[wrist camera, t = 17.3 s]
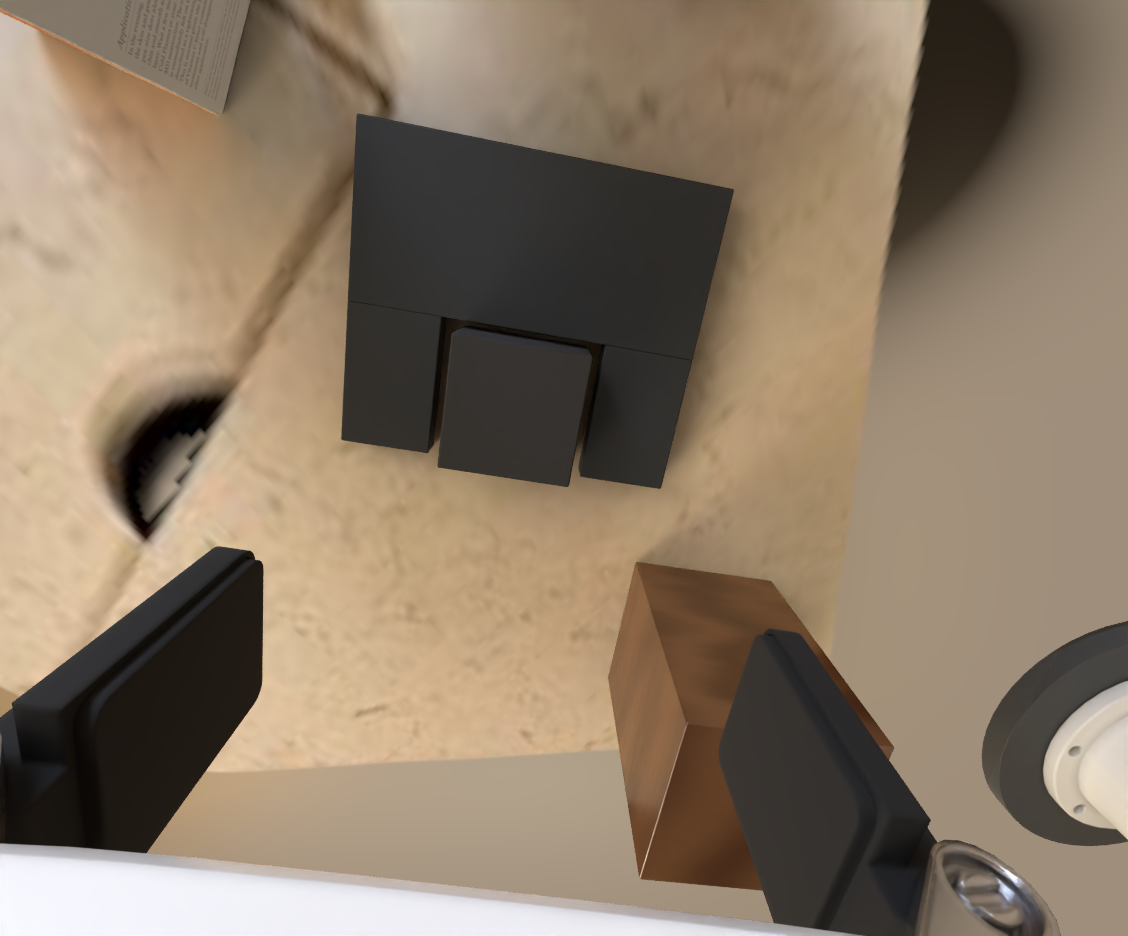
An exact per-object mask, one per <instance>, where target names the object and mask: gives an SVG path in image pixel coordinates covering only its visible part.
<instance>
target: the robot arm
mask: <svg viewBox="0 0 1128 936" xmlns="http://www.w3.org/2000/svg"><path fill="white" fill-rule="evenodd" d="M262 655H263V564H262V562H261V561H259V560H255V557H254V554H253V553H252V552H251V551H247V550H240V549H233V548H227V547H215V548H213V549H212V550H210V551H209V552H208V553H207V554H205V555H204V556H203V557H201V558H200V559H199V560H197V561H196V562H195V563H193V564H192V565H191V566H190V567H188V568H187V569H186V570H184V571H183V572H182V573H180V574H179V575H178V576H177V577H175V578H174V579H173V580H171V581H170V582H169V583H167V584H166V585H165V586H164V587H162V588H161V589H160V590H158V591H157V592H156V593H154V594H153V595H152V596H151V597H149V598H148V599H147V600H145V601H144V602H143V603H141V604H140V605H139V606H138V607H136V608H135V609H134V610H132V611H131V612H130V613H128V614H127V615H126V616H125V617H123V618H122V619H121V620H119V621H118V622H117V623H115V624H114V625H113V626H112V627H110V628H109V629H108V630H106V631H105V632H104V633H102V634H101V635H100V636H98V637H97V638H96V639H95V640H93V641H92V642H91V643H89V644H88V645H87V646H85V647H84V648H83V649H82V650H80V651H79V652H78V653H76V654H75V655H74V656H72V657H71V658H70V659H69V660H67V661H66V662H65V663H63V664H62V665H61V666H59V667H58V668H57V669H56V670H54V671H53V672H52V673H50V674H49V675H48V676H46V677H45V678H44V679H43V680H41V681H40V682H39V683H37V684H36V685H35V686H33V687H32V688H31V689H30V690H28V691H27V692H26V693H24V694H23V695H22V696H20V697H19V698H18V699H16V700H15V701H14V702H13V703H12V706H13V708H12V709H11V710H9V711H8V712H7V713H6V714H4V715H3V716H2V717H0V936H1061V934H1060V931H1059V927H1058V924H1057V920H1056V919H1055V917H1054V915H1053V913H1052V912H1051V910H1050V909H1049V907H1048V905H1047V903H1046V902H1045V901H1044V899H1043V898H1042V897H1041V896H1040V895H1039V894H1038V892H1037V891H1036V890H1035V889H1034V888H1033V887H1032V886H1031V884H1030V883H1028V882H1027V881H1026V880H1025V879H1024V878H1023V877H1022V876H1021V875H1019V874H1018V873H1017V872H1016V871H1015V870H1014V869H1013V868H1011V867H1010V866H1008V865H1007V864H1005V863H1004V862H1003V861H1001V860H1000V859H998V858H997V857H995V856H994V855H992V854H990V853H988V852H986V851H984V850H982V849H980V848H978V847H976V846H974V845H971V844H968V843H965V842H961V841H957V840H943V841H940V842H938V843H937V841H936V840H935V838H934V837H933V835H932V834H931V832H930V831H929V829H928V828H927V827H928V825H929V823H930V821H931V820H930V818H929V817H928V816H927V814H926V813H925V811H924V810H923V808H922V807H921V806H920V804H919V803H918V801H917V800H916V798H915V797H914V796H913V794H912V793H911V791H910V790H909V789H908V787H907V785H906V784H905V783H904V781H903V780H902V778H901V777H900V775H899V774H898V773H897V771H896V770H895V768H894V767H893V765H892V764H891V763H890V761H889V760H888V758H887V757H886V755H885V754H884V753H883V751H882V750H881V748H880V747H879V745H878V744H877V743H876V741H875V740H874V738H873V737H872V735H871V734H870V733H869V731H868V730H867V728H866V727H865V725H864V724H863V722H862V721H861V720H860V718H859V717H858V715H857V714H856V712H855V711H854V710H853V708H852V707H851V705H850V704H849V702H848V701H847V700H846V698H845V697H844V695H843V694H842V692H841V691H840V690H839V688H838V687H837V685H836V684H835V682H834V681H833V680H832V678H831V677H830V675H829V674H828V672H827V671H826V669H825V668H824V667H823V665H822V664H821V662H820V661H819V659H818V658H817V657H816V655H815V654H814V652H813V651H812V649H811V648H810V647H809V645H808V644H807V642H806V641H805V639H804V638H803V637H802V636H801V635H800V634H799V633H797V632H791V631H784V630H777V629H770V628H769V629H767V630H766V631H765V632H764V633H763V635H757V636H756V637H755V638H754V641H753V643H752V646H751V649H750V652H749V655H748V658H747V661H746V664H745V667H744V670H743V673H742V676H741V679H740V682H739V685H738V688H737V691H736V694H735V698H734V701H733V704H732V707H731V710H730V713H729V716H728V719H727V722H726V725H725V728H724V731H723V734H722V737H721V740H720V743H719V762H720V766H721V769H722V772H723V775H724V778H725V780H726V783H727V786H728V789H729V792H730V795H731V798H732V801H733V804H734V807H735V810H736V813H737V816H738V819H739V822H740V825H741V827H742V830H743V833H744V836H745V839H746V842H747V845H748V848H749V851H750V854H751V857H752V860H753V863H754V866H755V869H756V872H757V875H758V877H759V880H760V883H761V886H762V889H763V892H764V895H765V898H766V901H767V904H768V906H769V910H770V912H771V916H772V918H773V922H774V923H769V922H762V921H754V920H745V919H737V918H728V917H719V916H711V915H703V914H695V913H687V912H677V911H669V910H661V909H653V908H645V907H636V906H628V905H619V904H611V903H602V902H594V901H585V900H576V899H568V898H558V897H550V896H541V895H533V894H524V893H515V892H506V891H498V890H489V889H480V888H471V887H461V886H452V885H444V884H435V883H426V882H417V881H408V880H399V879H390V878H381V877H371V876H362V875H353V874H343V873H334V872H325V871H315V870H306V869H297V868H286V867H278V866H268V865H258V864H249V863H240V862H231V861H221V860H212V859H202V858H192V857H181V856H169V855H158V854H147V852H148V850H149V849H150V847H151V846H152V845H153V843H154V842H155V840H156V839H157V838H158V836H159V835H160V834H161V832H162V831H163V829H164V828H165V827H166V825H167V824H168V822H169V821H170V820H171V818H172V817H173V816H174V814H175V813H176V811H177V810H178V809H179V807H180V806H181V804H182V803H183V801H184V800H185V799H186V798H187V796H188V795H189V793H190V792H191V791H192V789H193V788H194V786H195V785H196V784H197V782H198V781H199V779H200V778H201V777H202V775H203V774H204V773H205V771H206V770H207V768H208V767H209V766H210V764H211V763H212V761H213V760H214V759H215V757H216V756H217V755H218V753H219V752H220V750H221V749H222V748H223V746H224V745H225V743H226V742H227V741H228V739H229V738H230V737H231V735H232V734H233V732H234V731H235V730H236V728H237V727H238V725H239V724H240V723H241V721H242V720H243V719H244V717H245V716H246V714H247V713H248V712H249V710H250V709H251V707H252V706H253V705H254V703H255V701H256V700H257V698H258V696H259V693H260V690H261V686H262ZM1043 775H1044V783H1045V785H1046V788H1047V790H1048V792H1049V794H1050V795H1051V796H1052V798H1053V799H1054V800H1055V801H1056V803H1057V804H1058V805H1059V806H1060V807H1061V808H1062V809H1063V810H1064V811H1065V812H1066V813H1067V814H1068V815H1070V816H1071V817H1073V818H1075V819H1076V820H1078V821H1080V822H1082V823H1084V824H1088V825H1091V826H1095V827H1100V828H1109V829H1117V830H1118V831H1119V832H1120V833H1121V834H1122V835H1123V836H1124V837H1126V838H1127V839H1128V681H1125V682H1122V683H1119V684H1117V685H1115V686H1113V687H1111V688H1108V689H1106V690H1104V691H1102V692H1100V693H1099V694H1097V695H1096V696H1094V697H1093V698H1091V699H1090V700H1088V701H1087V702H1085V703H1084V704H1083V705H1082V706H1080V707H1079V708H1078V709H1077V710H1076V711H1075V712H1073V713H1072V714H1071V715H1070V716H1069V717H1068V718H1067V720H1066V721H1065V722H1064V723H1063V724H1062V725H1061V726H1060V728H1059V729H1058V731H1057V732H1056V734H1055V735H1054V737H1053V739H1052V740H1051V742H1050V744H1049V747H1048V749H1047V752H1046V755H1045V760H1044V766H1043Z"/></svg>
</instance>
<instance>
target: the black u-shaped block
mask: <svg viewBox="0 0 1128 936" xmlns="http://www.w3.org/2000/svg"><path fill="white" fill-rule="evenodd" d="M733 191H734V190H733V189H729V188H724V187H720V186H715V185H710V184H705V183H700V182H695V181H690V180H685V179H680V178H675V177H670V176H665V175H660V174H655V173H650V172H645V171H640V170H635V169H630V168H625V167H621V166H616V165H611V164H606V163H601V162H596V161H591V160H586V159H581V158H576V157H571V156H566V155H561V154H556V153H551V152H546V151H541V150H536V149H531V148H526V147H522V146H517V145H512V144H507V143H502V142H497V141H492V140H487V139H482V138H477V137H472V136H467V135H462V134H457V133H452V132H447V131H442V130H437V129H432V128H427V127H423V126H418V125H413V124H408V123H403V122H398V121H393V120H388V119H383V118H378V117H373V116H368V115H363V114H357V121H356V142H355V163H354V184H353V205H352V226H351V246H350V267H349V288H348V300H349V301H348V310H347V331H346V352H345V373H344V394H343V415H342V436H341V439H342V440H345V441H351V442H358V443H365V444H371V445H378V446H384V447H391V448H397V449H404V450H410V451H417V452H423V453H428V452H429V450H430V449H431V448H432V446H433V444H434V436H435V426H436V417H437V407H438V397H439V387H440V378H441V368H442V358H443V349H444V339H445V329H446V319H447V318H453V319H458V320H464V321H470V322H476V323H481V324H487V325H493V326H499V327H504V328H510V329H516V330H522V331H527V332H533V333H539V334H545V335H550V336H556V337H562V338H568V339H573V340H579V341H585V342H590V343H596V344H602V347H601V352H600V357H599V363H598V368H597V373H596V378H595V383H594V389H593V394H592V399H591V404H590V410H589V415H588V420H587V425H586V430H585V436H584V441H583V446H582V451H581V457H580V462H579V472H580V476H581V477H586V478H593V479H599V480H606V481H612V482H619V483H625V484H632V485H638V486H645V487H652V488H658V489H661V486H662V482H663V478H664V473H665V469H666V465H667V461H668V457H669V453H670V449H671V445H672V441H673V437H674V433H675V428H676V424H677V420H678V416H679V412H680V408H681V404H682V400H683V396H684V392H685V388H686V383H687V379H688V375H689V371H690V367H691V363H692V359H693V355H694V351H695V347H696V343H697V339H698V335H699V331H700V326H701V322H702V318H703V314H704V310H705V306H706V302H707V298H708V294H709V290H710V286H711V281H712V277H713V273H714V269H715V265H716V261H717V257H718V253H719V249H720V245H721V240H722V236H723V232H724V228H725V224H726V220H727V216H728V212H729V208H730V204H731V200H732V195H733Z"/></svg>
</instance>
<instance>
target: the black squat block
mask: <svg viewBox="0 0 1128 936" xmlns="http://www.w3.org/2000/svg"><path fill="white" fill-rule="evenodd" d="M592 360H593V358H592V356H591V354H590V352H589V351H588V349H587V347H586V346H582V345H576V344H570V343H565V342H559V341H553V340H547V339H541V338H536V337H530V336H524V335H518V334H513V333H507V332H501V331H495V330H490V329H484V328H478V327H472V326H467V325H466V326H464V327H462V328H460V329H459V330H457V331H455V332H454V333H452V335H451V345H450V354H449V363H448V373H447V382H446V392H445V401H444V410H443V420H442V429H441V439H440V448H439V457H438V467H439V468H446V469H452V470H459V471H465V472H472V473H479V474H485V475H492V476H498V477H505V478H512V479H518V480H525V481H531V482H538V483H545V484H551V485H558V486H564V487H568V486H569V483H570V477H571V472H572V467H573V461H574V456H575V451H576V445H577V440H578V435H579V429H580V424H581V419H582V413H583V408H584V403H585V397H586V392H587V387H588V381H589V376H590V371H591V365H592Z"/></svg>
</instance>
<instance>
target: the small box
mask: <svg viewBox="0 0 1128 936" xmlns="http://www.w3.org/2000/svg"><path fill="white" fill-rule="evenodd" d="M249 4H250V0H0V12H1V13H3V14H5V15H8V16H10V17H12V18H14V19H16V20H18V21H20V22H22V23H24V24H26V25H29V26H31V27H33V28H35V29H37V30H39V31H41V32H43V33H45V34H47V35H49V36H52V37H54V38H56V39H58V40H60V41H62V42H64V43H66V44H68V45H70V46H72V47H74V48H77V49H79V50H81V51H83V52H85V53H87V54H89V55H91V56H93V57H95V58H97V59H99V60H101V61H104V62H106V63H108V64H110V65H112V66H114V67H116V68H118V69H120V70H122V71H125V72H127V73H129V74H131V75H133V76H135V77H137V78H139V79H141V80H143V81H146V82H148V83H150V84H152V85H154V86H156V87H158V88H160V89H162V90H164V91H167V92H169V93H171V94H173V95H175V96H177V97H179V98H181V99H183V100H185V101H187V102H190V103H192V104H194V105H196V106H197V107H199V108H201V109H203V110H205V111H207V112H209V113H212V114H214V115H217V116H220V115H221V114H222V113H223V111H224V106H225V102H226V98H227V93H228V89H229V85H230V81H231V77H232V73H233V69H234V64H235V60H236V56H237V52H238V48H239V44H240V39H241V36H242V32H243V28H244V24H245V20H246V16H247V12H248V8H249Z"/></svg>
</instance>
